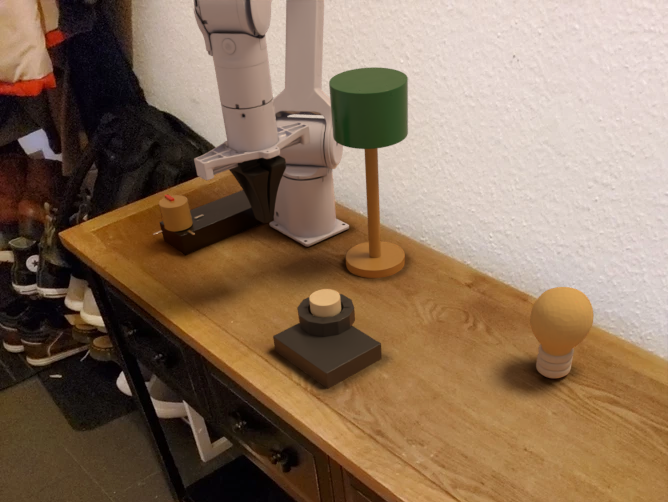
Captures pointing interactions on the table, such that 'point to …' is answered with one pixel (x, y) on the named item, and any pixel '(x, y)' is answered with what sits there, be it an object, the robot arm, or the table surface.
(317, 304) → the lamp switch
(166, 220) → the dimmer knob
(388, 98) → the lamp
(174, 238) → the dimmer
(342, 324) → the switch box
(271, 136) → the robot arm
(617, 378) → the table surface
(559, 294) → the light bulb
